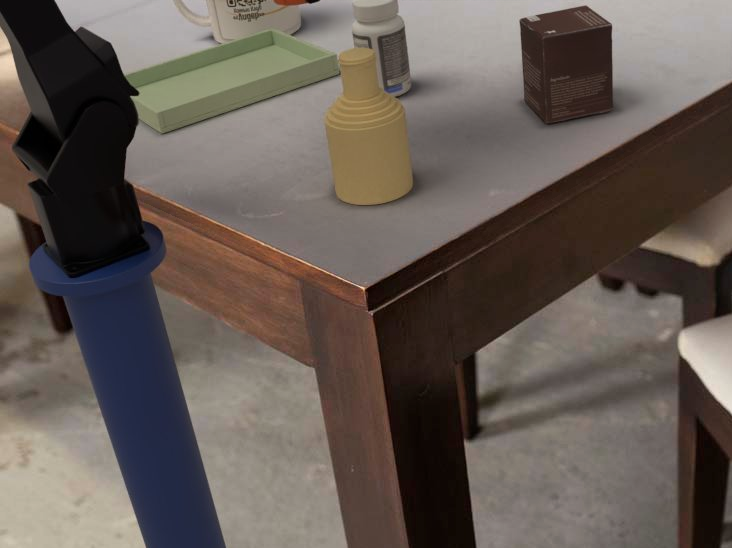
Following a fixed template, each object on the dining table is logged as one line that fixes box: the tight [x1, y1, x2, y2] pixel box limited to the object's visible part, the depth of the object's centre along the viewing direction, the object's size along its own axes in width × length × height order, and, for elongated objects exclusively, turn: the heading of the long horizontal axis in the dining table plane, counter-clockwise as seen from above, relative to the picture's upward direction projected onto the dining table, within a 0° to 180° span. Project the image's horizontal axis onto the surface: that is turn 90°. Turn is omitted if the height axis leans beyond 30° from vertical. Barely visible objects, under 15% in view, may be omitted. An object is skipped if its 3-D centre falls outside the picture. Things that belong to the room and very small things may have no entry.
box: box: [518, 5, 614, 124], centre depth 91 cm, size 6×6×7 cm
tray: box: [123, 28, 340, 135], centre depth 108 cm, size 19×13×2 cm
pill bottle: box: [351, 0, 412, 98], centre depth 100 cm, size 5×5×8 cm
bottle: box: [324, 48, 414, 206], centre depth 82 cm, size 6×6×10 cm
